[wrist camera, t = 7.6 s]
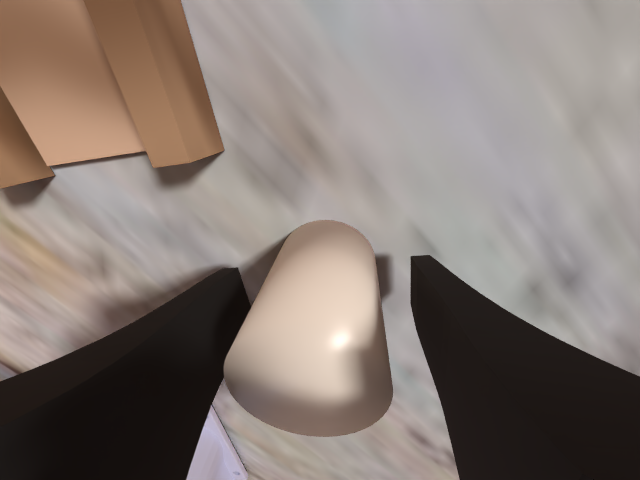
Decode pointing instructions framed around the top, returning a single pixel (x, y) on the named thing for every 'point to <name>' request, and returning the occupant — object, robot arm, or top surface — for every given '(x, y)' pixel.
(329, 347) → the cream plug
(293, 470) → the top surface
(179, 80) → the open-sided tray
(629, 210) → the top surface
